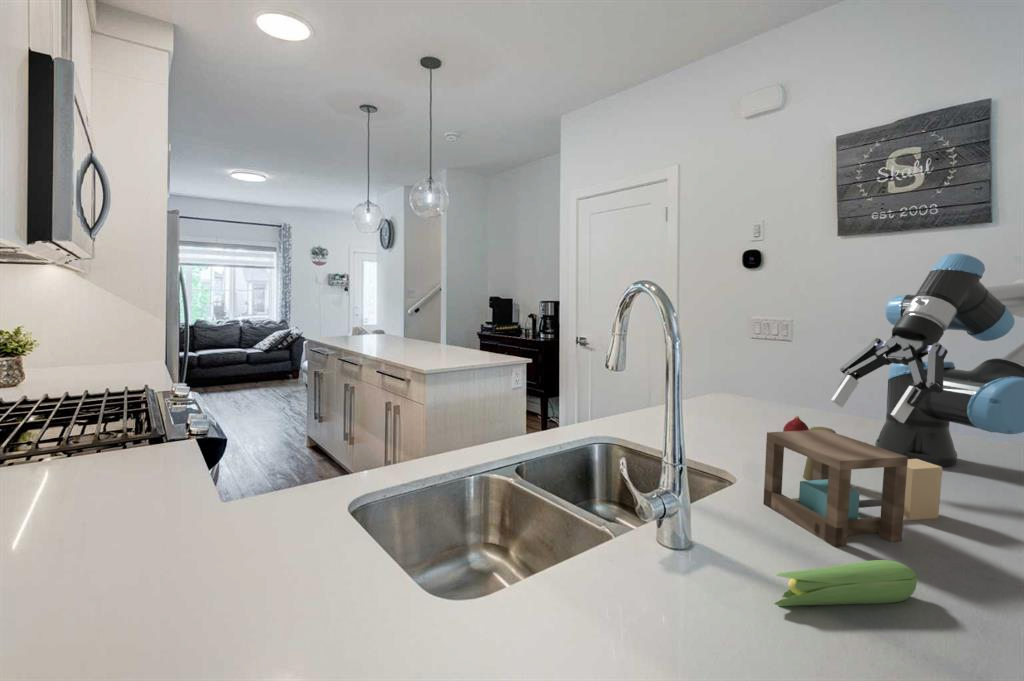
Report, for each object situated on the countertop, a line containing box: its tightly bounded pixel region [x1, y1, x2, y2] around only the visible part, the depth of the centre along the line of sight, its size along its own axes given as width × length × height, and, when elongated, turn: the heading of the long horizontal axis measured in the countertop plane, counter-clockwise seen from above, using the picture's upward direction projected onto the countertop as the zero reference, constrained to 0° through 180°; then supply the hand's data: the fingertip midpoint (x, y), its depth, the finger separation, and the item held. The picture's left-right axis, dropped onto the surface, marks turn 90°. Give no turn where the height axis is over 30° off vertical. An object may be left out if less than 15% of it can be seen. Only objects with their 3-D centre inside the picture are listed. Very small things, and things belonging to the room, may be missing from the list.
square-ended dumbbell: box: [798, 459, 943, 521], centre depth 84 cm, size 23×6×9 cm, turn 100°
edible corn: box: [773, 559, 918, 607], centre depth 61 cm, size 5×20×5 cm
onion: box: [782, 415, 810, 432], centre depth 125 cm, size 6×6×8 cm
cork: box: [802, 426, 837, 481], centre depth 102 cm, size 6×6×11 cm
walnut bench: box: [763, 430, 908, 548], centre depth 83 cm, size 12×16×13 cm
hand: (864, 411), depth 98 cm, fingers open, 13 cm apart
